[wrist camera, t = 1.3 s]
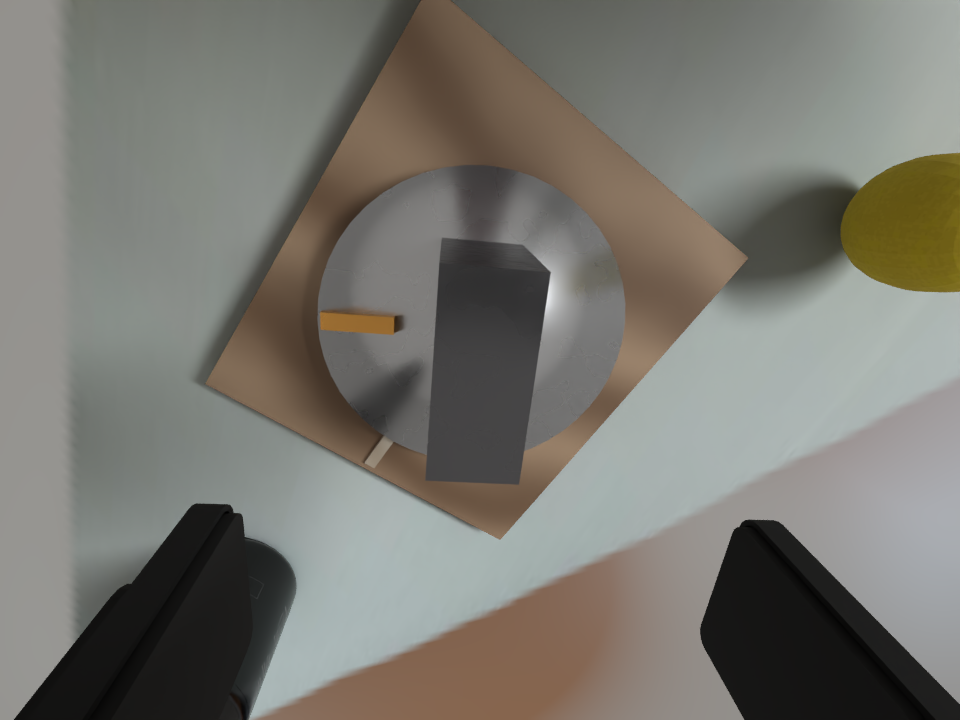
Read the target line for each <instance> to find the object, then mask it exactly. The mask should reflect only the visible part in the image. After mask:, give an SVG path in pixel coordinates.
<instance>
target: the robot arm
mask: <svg viewBox="0 0 960 720" xmlns="http://www.w3.org/2000/svg"><path fill="white" fill-rule="evenodd" d="M252 631H253V620H252V609H251V598H250V588H249V577H248V567H247V556H246V545H245V535H244V524H243V517H242V515H241V514H240V513H233V509H232V507H231V505H228V504H194V505H192V506H191V507H190V508H189V509H188V511H187V512H186V513H185V515H184V516H183V517H182V519H181V520H180V521H179V523H178V524H177V525H176V526H175V528H174V529H173V530H172V532H171V533H170V534H169V536H168V537H167V538H166V540H165V541H164V542H163V543H162V545H161V546H160V547H159V549H158V550H157V551H156V553H155V554H154V555H153V557H152V558H151V559H150V560H149V562H148V563H147V564H146V566H145V567H144V568H143V570H142V571H141V572H140V574H139V575H138V576H137V577H136V579H135V580H134V581H133V583H132V584H126V585H124V586H123V587H121V588H119V589H118V590H117V591H116V592H115V593H114V594H113V595H112V596H111V597H110V599H109V600H108V601H107V602H106V604H105V605H104V606H103V608H102V609H101V610H100V611H99V613H98V614H97V615H96V616H95V618H94V619H93V620H92V621H91V623H90V624H89V625H88V626H87V628H86V629H85V630H84V632H83V633H82V634H81V635H80V637H79V638H78V639H77V640H76V642H75V643H74V644H73V645H72V647H71V648H70V649H69V651H68V652H67V653H66V654H65V656H64V657H63V658H62V659H61V661H60V662H59V663H58V664H57V666H56V667H55V668H54V670H53V671H52V672H51V673H50V675H49V676H48V677H47V678H46V680H45V681H44V682H43V684H42V685H41V686H40V687H39V688H38V690H37V691H36V692H35V694H34V695H33V696H32V698H31V699H30V700H29V701H28V702H27V704H26V705H25V707H23V709H22V710H21V711H20V713H19V714H18V715H17V716H16V718H15V719H14V720H219V718H220V716H221V713H222V711H223V708H224V706H225V704H226V701H227V699H228V696H229V694H230V691H231V689H232V687H233V684H234V682H235V679H236V677H237V674H238V672H239V670H240V667H241V665H242V662H243V660H244V657H245V655H246V653H247V650H248V647H249V645H250V641H251V637H252ZM700 634H701V640H702V644H703V646H704V648H705V650H706V652H707V654H708V655H709V657H710V659H711V661H712V662H713V664H714V666H715V668H716V670H717V671H718V673H719V675H720V677H721V679H722V680H723V682H724V684H725V686H726V688H727V689H728V691H729V693H730V695H731V696H732V698H733V700H734V702H735V704H736V705H737V707H738V709H739V711H740V712H741V714H742V716H743V718H744V720H960V704H959V703H958V702H957V701H956V700H955V699H954V698H953V697H952V696H951V695H950V694H949V693H948V692H947V691H946V690H945V689H944V688H943V687H942V686H941V685H940V684H939V683H938V682H937V681H936V680H935V679H934V678H933V677H932V676H931V675H930V674H929V673H928V672H927V671H926V670H925V669H924V668H923V667H922V666H921V665H920V664H919V663H918V662H917V661H916V660H915V659H914V658H913V657H912V656H911V655H910V654H909V652H908V651H907V650H905V648H904V647H903V646H902V645H901V644H900V643H899V642H898V641H897V640H896V639H895V638H894V637H893V636H892V635H891V634H890V633H888V631H887V630H886V629H885V628H884V627H883V626H882V625H881V624H880V623H879V622H878V621H877V620H876V619H875V618H874V617H873V616H872V615H871V614H870V613H869V612H868V611H867V610H866V609H865V608H864V607H863V606H862V605H861V604H860V603H859V602H858V601H857V600H856V599H855V598H854V597H853V596H852V595H851V594H850V593H849V592H848V591H847V590H846V589H845V588H844V587H843V586H842V585H841V584H840V582H838V581H837V579H835V577H834V576H833V575H832V574H831V573H830V572H828V570H827V569H826V568H825V567H824V566H823V565H822V564H821V563H820V562H819V561H818V560H817V559H816V558H815V557H814V556H813V555H812V554H811V553H810V552H809V551H808V550H807V549H806V548H805V547H804V546H803V545H802V544H801V543H800V542H799V541H798V540H797V539H796V538H795V537H794V536H793V535H792V534H791V533H790V532H789V531H788V530H787V529H786V528H785V527H784V526H783V525H782V524H781V523H779V522H777V521H774V520H745V521H744V522H742V523H741V525H740V527H737V528H736V529H734V531H733V533H732V536H731V539H730V542H729V545H728V548H727V551H726V554H725V557H724V560H723V562H722V565H721V568H720V571H719V574H718V577H717V580H716V583H715V586H714V589H713V592H712V595H711V597H710V600H709V603H708V606H707V609H706V613H705V615H704V618H703V621H702V624H701V628H700Z"/></svg>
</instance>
